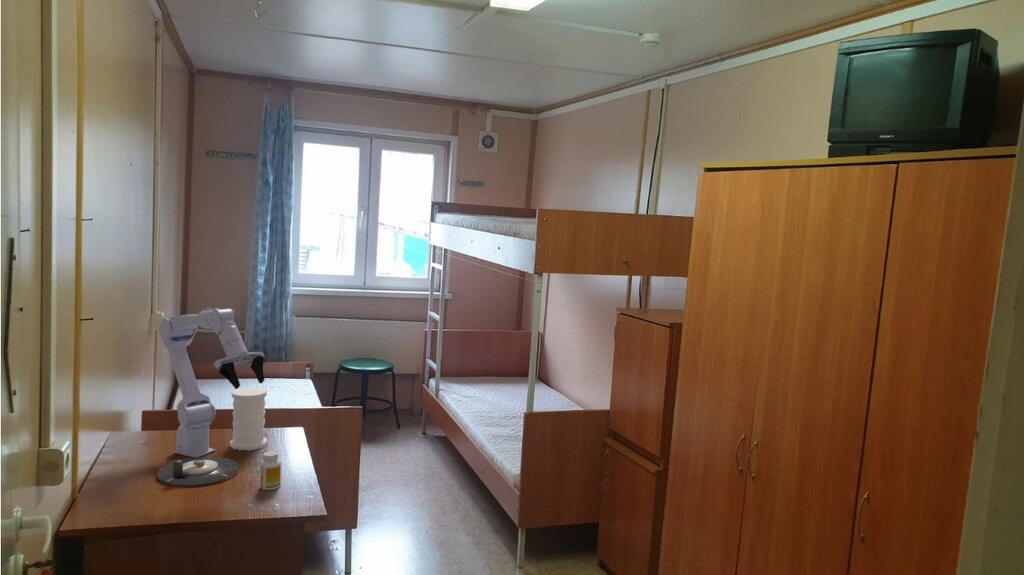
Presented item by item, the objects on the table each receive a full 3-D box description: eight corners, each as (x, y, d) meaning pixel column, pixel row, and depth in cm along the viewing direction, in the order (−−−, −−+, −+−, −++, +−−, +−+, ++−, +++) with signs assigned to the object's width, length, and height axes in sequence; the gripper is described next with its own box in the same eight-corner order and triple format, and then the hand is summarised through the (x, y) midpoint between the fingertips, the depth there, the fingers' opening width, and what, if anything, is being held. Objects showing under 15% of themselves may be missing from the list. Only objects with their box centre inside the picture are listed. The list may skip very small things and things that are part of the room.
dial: (200, 460, 213) (200, 446, 212) (225, 466, 209) (225, 451, 208) (161, 475, 200) (161, 459, 199) (186, 481, 196) (187, 465, 196)
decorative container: (251, 452, 225) (252, 397, 223) (222, 447, 229) (222, 393, 227) (274, 442, 236) (275, 389, 234) (246, 437, 240) (246, 385, 238)
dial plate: (139, 477, 200) (139, 473, 200) (201, 455, 220) (201, 451, 220) (196, 492, 192) (196, 488, 192) (255, 467, 212) (255, 464, 212)
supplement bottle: (284, 485, 200) (285, 452, 199) (272, 491, 195) (272, 457, 194) (268, 482, 202) (269, 449, 201) (256, 488, 197) (256, 454, 196)
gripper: (214, 341, 200) (231, 383, 196) (261, 334, 211) (278, 373, 207) (205, 353, 204) (222, 394, 200) (252, 345, 215) (268, 384, 211)
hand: (250, 384), depth 204 cm, fingers open, 7 cm apart
